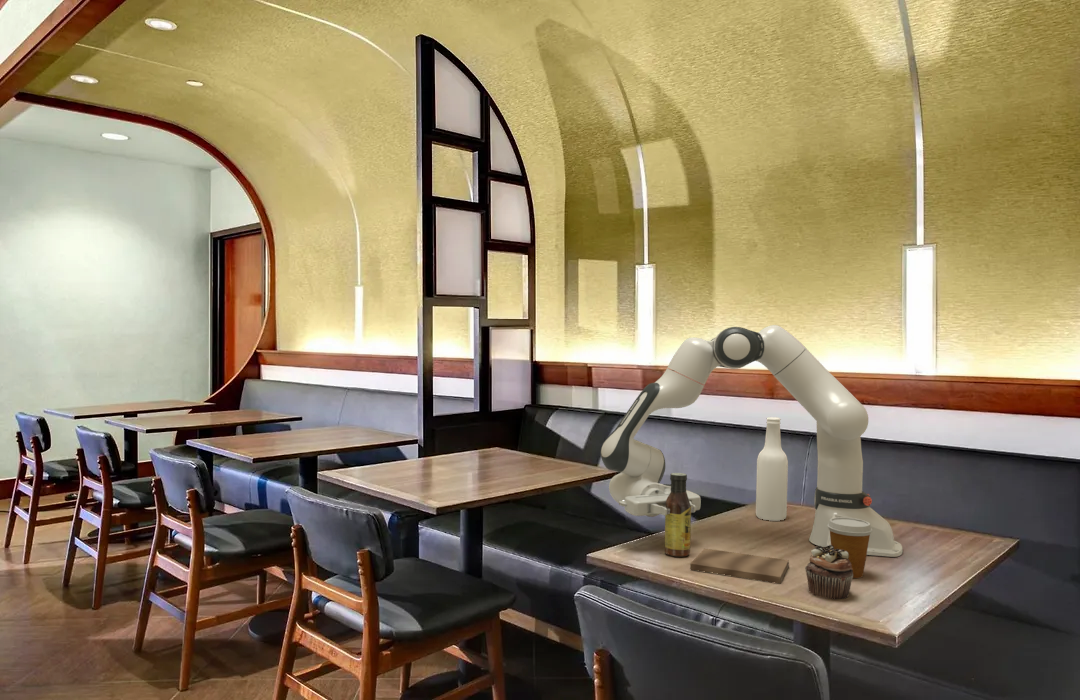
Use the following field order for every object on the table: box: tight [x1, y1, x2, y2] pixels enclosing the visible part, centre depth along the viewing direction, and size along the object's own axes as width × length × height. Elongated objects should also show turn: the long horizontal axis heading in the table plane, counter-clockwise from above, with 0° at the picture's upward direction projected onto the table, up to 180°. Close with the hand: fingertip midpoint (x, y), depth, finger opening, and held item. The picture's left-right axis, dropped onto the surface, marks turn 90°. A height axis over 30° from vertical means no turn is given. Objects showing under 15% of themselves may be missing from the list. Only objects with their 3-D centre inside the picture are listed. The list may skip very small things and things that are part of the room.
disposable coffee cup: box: [828, 517, 872, 579], centre depth 175 cm, size 10×10×12 cm
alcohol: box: [755, 416, 789, 522], centre depth 226 cm, size 9×9×30 cm
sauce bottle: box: [664, 472, 692, 558], centre depth 188 cm, size 6×6×20 cm
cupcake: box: [804, 545, 854, 600], centre depth 162 cm, size 10×10×10 cm
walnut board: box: [689, 548, 790, 584], centre depth 177 cm, size 20×14×2 cm
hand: (680, 510), depth 187 cm, fingers closed on sauce bottle, 6 cm apart
